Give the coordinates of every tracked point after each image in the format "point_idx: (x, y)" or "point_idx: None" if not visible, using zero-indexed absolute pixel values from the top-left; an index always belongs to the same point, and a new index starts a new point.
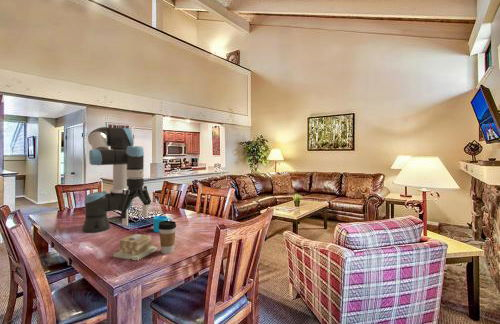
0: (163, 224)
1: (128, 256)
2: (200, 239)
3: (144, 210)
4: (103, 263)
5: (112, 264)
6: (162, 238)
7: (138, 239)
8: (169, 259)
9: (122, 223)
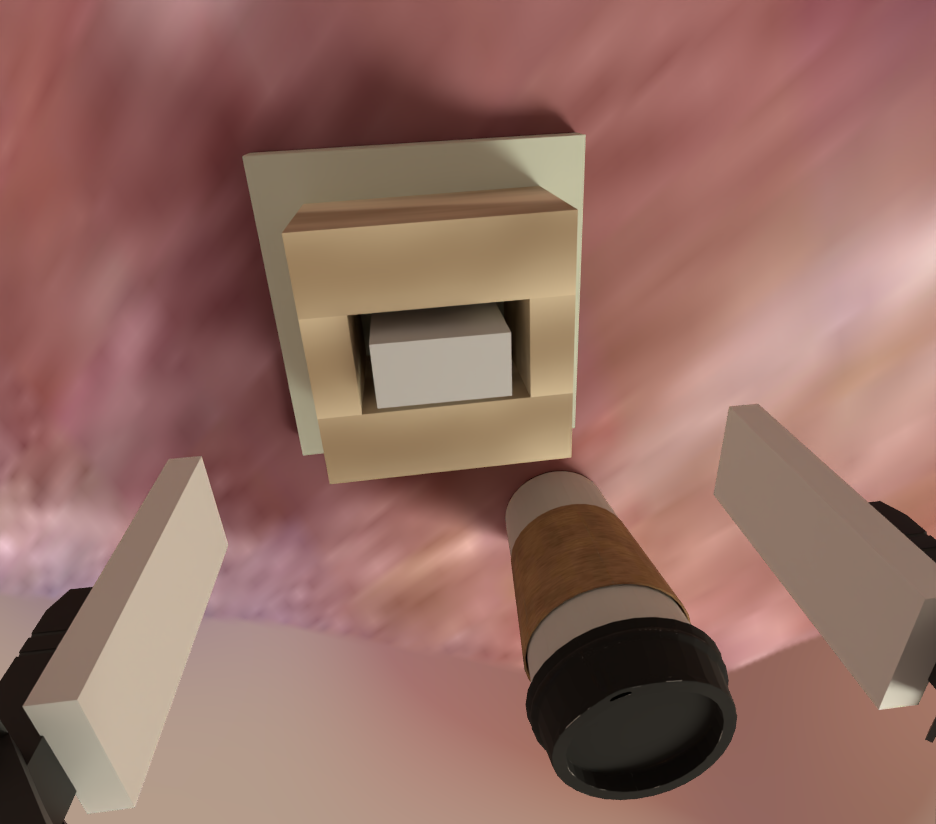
0: (558, 760)
1: (284, 357)
2: None
3: (804, 544)
4: (87, 200)
5: (131, 303)
6: (519, 615)
7: (413, 424)
8: (434, 606)
9: (161, 481)
